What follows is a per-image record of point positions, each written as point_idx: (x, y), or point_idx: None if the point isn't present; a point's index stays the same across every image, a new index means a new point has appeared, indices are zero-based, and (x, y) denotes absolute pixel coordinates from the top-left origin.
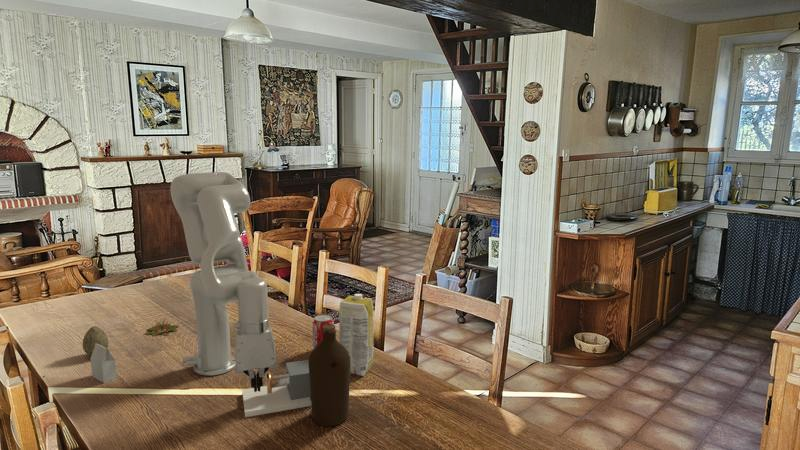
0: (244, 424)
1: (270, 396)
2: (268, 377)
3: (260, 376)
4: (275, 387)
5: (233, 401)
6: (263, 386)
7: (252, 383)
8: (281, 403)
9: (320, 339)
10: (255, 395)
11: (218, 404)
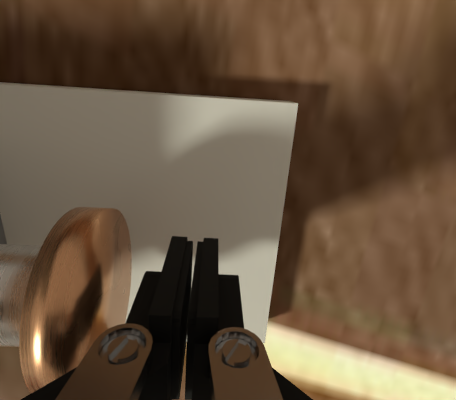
0: (309, 15)
1: None
2: (52, 307)
3: (138, 337)
4: None
5: (313, 279)
6: None
7: (229, 298)
8: (49, 120)
9: None
10: None
11: (384, 277)
